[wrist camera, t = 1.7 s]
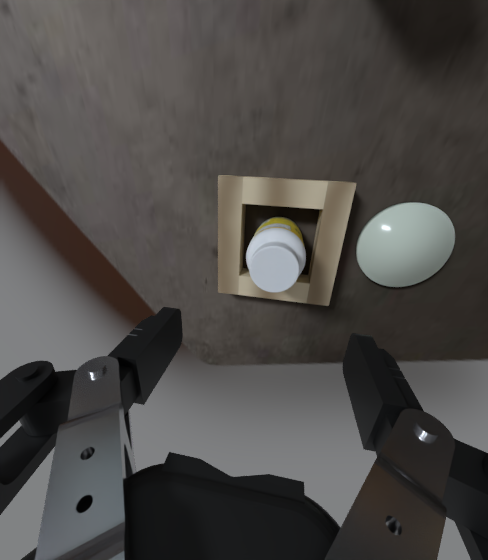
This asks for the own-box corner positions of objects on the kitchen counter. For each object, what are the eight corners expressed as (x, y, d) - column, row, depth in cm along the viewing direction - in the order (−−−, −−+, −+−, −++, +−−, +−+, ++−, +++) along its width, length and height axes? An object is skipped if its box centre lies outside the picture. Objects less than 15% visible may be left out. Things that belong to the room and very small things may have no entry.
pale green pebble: (465, 205, 23) (471, 206, 22) (430, 288, 27) (434, 291, 26) (367, 198, 24) (369, 199, 24) (347, 279, 28) (348, 282, 27)
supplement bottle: (300, 262, 28) (305, 303, 19) (255, 260, 29) (240, 298, 20) (304, 215, 26) (311, 238, 17) (255, 215, 27) (238, 236, 18)
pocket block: (350, 182, 24) (356, 183, 22) (325, 295, 29) (328, 306, 27) (224, 175, 26) (218, 175, 23) (223, 283, 31) (218, 292, 29)
